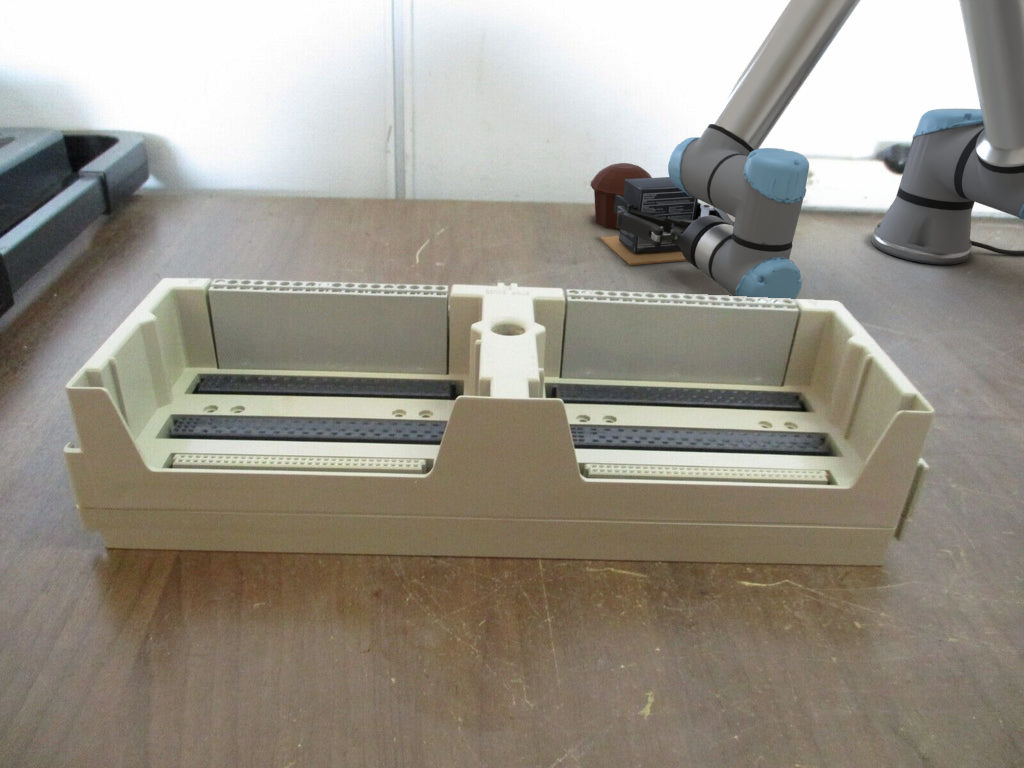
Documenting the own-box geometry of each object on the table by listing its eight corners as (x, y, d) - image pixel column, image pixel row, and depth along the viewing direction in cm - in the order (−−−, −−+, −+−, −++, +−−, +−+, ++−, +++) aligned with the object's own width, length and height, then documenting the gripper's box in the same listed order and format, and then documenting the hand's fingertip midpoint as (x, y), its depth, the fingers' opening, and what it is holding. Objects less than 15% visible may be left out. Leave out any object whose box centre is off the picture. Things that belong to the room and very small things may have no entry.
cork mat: (705, 231, 135) (705, 229, 135) (741, 256, 125) (742, 254, 125) (600, 239, 129) (600, 237, 129) (630, 265, 119) (630, 263, 119)
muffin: (625, 208, 145) (631, 154, 139) (664, 226, 137) (672, 170, 131) (574, 216, 139) (578, 161, 134) (611, 235, 131) (618, 177, 126)
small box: (673, 236, 130) (683, 174, 125) (692, 249, 125) (703, 185, 119) (616, 239, 127) (624, 177, 122) (633, 253, 122) (642, 188, 117)
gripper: (639, 279, 107) (581, 227, 125) (780, 267, 113) (705, 219, 131) (646, 227, 103) (585, 181, 121) (791, 218, 109) (713, 176, 128)
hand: (647, 201), depth 126 cm, fingers closed on small box, 10 cm apart
